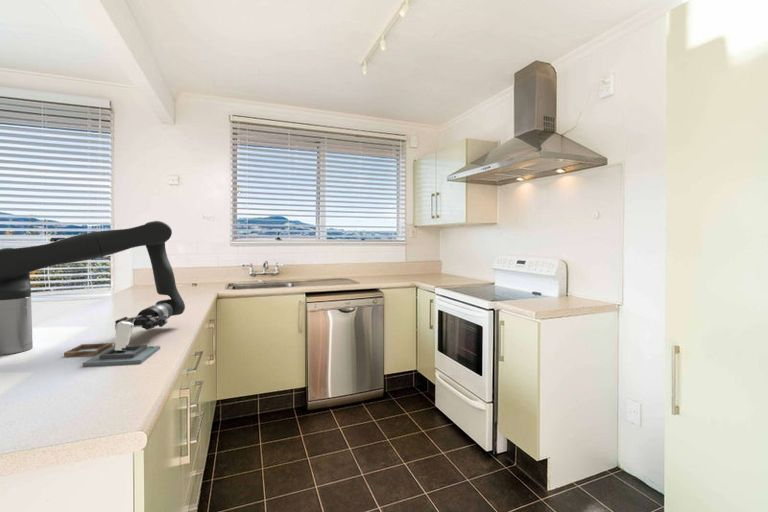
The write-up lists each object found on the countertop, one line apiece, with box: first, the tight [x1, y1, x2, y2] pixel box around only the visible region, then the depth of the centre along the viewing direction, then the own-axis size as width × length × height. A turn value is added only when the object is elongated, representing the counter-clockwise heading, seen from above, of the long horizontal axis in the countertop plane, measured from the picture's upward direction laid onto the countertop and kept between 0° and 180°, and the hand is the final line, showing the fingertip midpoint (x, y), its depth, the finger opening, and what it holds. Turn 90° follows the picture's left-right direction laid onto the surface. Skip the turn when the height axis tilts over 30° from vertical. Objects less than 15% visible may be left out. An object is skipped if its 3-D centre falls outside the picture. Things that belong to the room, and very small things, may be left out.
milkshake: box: [113, 319, 135, 351], centre depth 112 cm, size 5×5×10 cm
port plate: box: [82, 344, 161, 368], centre depth 109 cm, size 15×14×2 cm
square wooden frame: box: [63, 342, 114, 358], centre depth 114 cm, size 9×9×1 cm
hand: (132, 327), depth 114 cm, fingers open, 8 cm apart
